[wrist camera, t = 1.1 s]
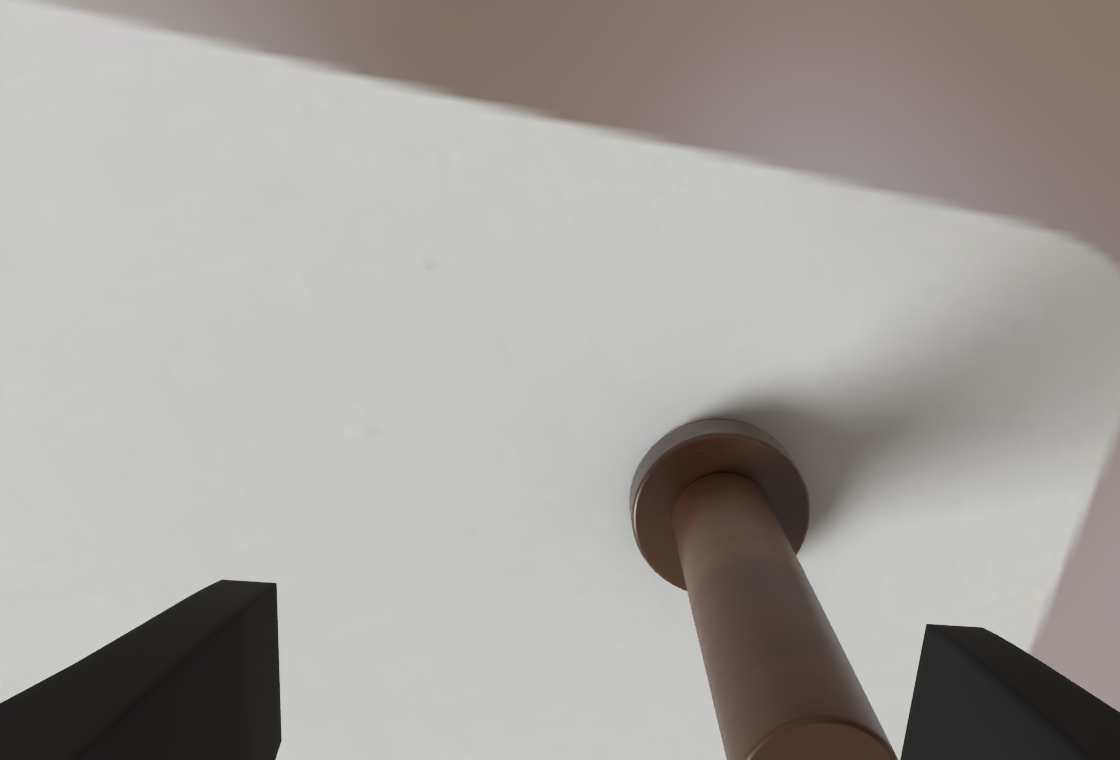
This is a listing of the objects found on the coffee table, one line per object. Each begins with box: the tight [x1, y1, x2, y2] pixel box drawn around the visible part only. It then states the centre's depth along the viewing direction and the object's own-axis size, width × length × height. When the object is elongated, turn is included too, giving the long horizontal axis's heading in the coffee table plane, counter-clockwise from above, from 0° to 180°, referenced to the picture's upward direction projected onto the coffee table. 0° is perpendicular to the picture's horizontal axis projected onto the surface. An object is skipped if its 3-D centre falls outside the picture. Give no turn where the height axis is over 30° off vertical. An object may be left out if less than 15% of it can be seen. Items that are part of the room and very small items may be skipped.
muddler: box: [630, 419, 898, 760], centre depth 16 cm, size 4×4×9 cm
